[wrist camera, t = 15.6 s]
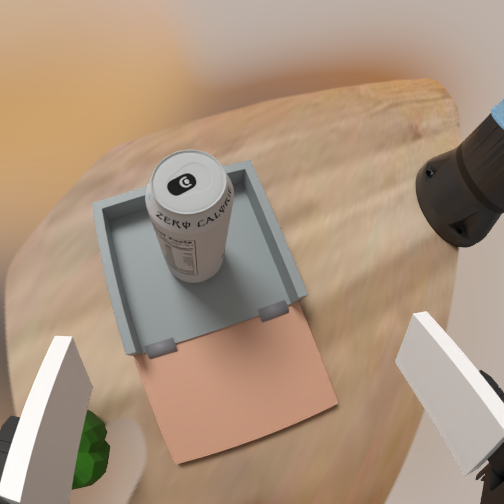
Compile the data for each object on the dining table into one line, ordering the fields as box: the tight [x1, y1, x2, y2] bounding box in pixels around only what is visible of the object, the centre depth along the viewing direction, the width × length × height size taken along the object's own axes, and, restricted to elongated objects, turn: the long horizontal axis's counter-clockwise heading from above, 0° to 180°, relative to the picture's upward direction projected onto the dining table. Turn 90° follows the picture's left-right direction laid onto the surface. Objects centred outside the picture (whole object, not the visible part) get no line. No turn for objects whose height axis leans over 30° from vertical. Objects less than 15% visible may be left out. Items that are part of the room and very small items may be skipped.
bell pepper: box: [72, 410, 110, 489], centre depth 22 cm, size 8×8×10 cm
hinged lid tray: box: [92, 160, 338, 464], centre depth 31 cm, size 18×28×4 cm, turn 21°
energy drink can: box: [145, 150, 234, 283], centre depth 26 cm, size 6×6×15 cm
